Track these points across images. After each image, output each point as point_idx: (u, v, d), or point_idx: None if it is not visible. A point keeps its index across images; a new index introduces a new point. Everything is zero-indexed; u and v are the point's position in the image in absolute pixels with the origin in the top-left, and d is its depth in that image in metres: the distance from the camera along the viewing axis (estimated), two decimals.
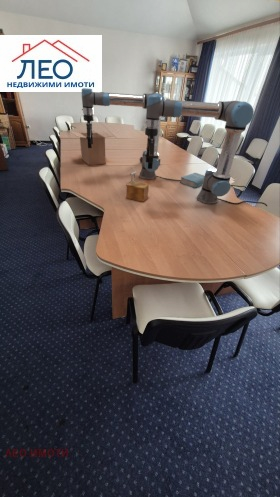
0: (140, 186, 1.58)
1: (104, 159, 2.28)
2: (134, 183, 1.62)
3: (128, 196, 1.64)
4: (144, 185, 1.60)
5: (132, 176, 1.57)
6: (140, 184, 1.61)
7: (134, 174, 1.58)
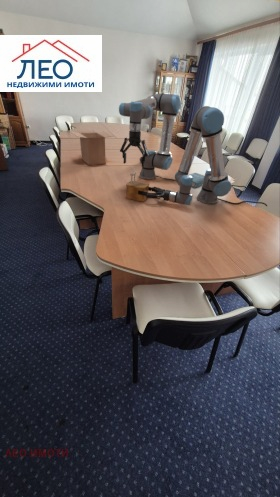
0: (140, 186, 1.58)
1: (104, 159, 2.28)
2: (134, 183, 1.62)
3: (128, 196, 1.64)
4: (144, 185, 1.60)
5: (131, 176, 1.57)
6: (140, 184, 1.61)
7: (134, 174, 1.58)
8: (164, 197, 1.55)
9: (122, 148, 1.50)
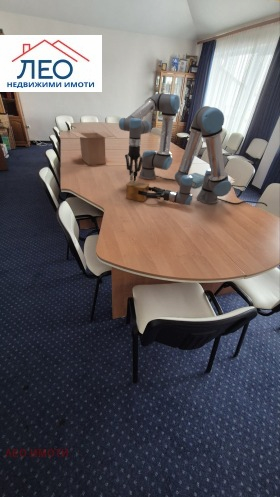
0: (140, 186, 1.58)
1: (104, 159, 2.28)
2: (134, 183, 1.62)
3: (128, 196, 1.64)
4: (144, 185, 1.60)
5: (132, 176, 1.57)
6: (140, 184, 1.61)
7: None
8: (164, 197, 1.55)
9: (127, 165, 1.55)
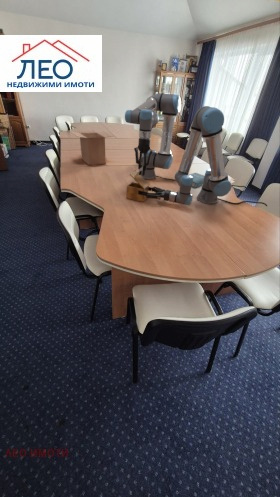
0: (142, 183, 1.57)
1: (104, 159, 2.28)
2: (137, 176, 1.58)
3: (128, 196, 1.64)
4: (145, 184, 1.59)
5: (140, 170, 1.52)
6: (142, 181, 1.59)
7: None
8: (164, 197, 1.55)
9: (137, 159, 1.50)
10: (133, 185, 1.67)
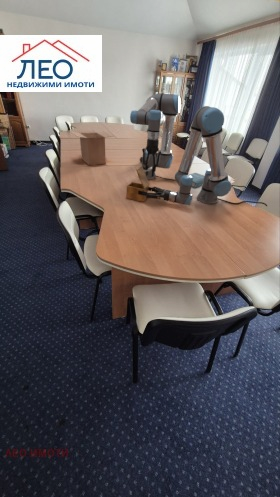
0: (143, 183, 1.56)
1: (104, 159, 2.28)
2: (142, 173, 1.56)
3: (128, 196, 1.64)
4: (146, 184, 1.59)
5: (147, 170, 1.50)
6: (144, 180, 1.58)
7: None
8: (164, 197, 1.55)
9: (144, 160, 1.48)
10: (133, 185, 1.67)
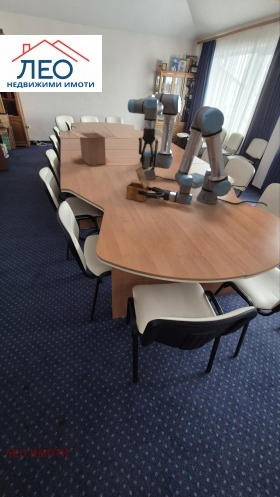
0: (143, 183, 1.56)
1: (104, 159, 2.28)
2: (141, 173, 1.56)
3: (128, 196, 1.64)
4: (146, 184, 1.59)
5: (146, 170, 1.51)
6: (144, 180, 1.58)
7: (149, 169, 1.52)
8: (164, 197, 1.55)
9: (140, 149, 1.46)
10: (133, 185, 1.67)
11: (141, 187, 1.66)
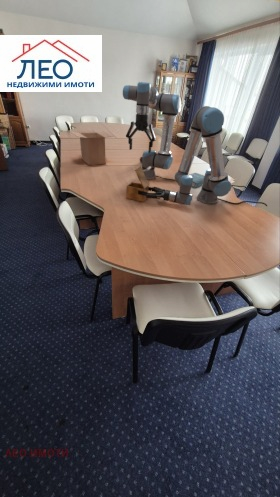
0: (143, 183, 1.56)
1: (104, 159, 2.28)
2: (141, 173, 1.56)
3: (128, 196, 1.64)
4: (146, 184, 1.59)
5: (146, 170, 1.51)
6: (144, 180, 1.58)
7: (148, 169, 1.52)
8: (164, 197, 1.55)
9: (128, 133, 1.43)
10: (133, 185, 1.67)
11: (141, 187, 1.66)
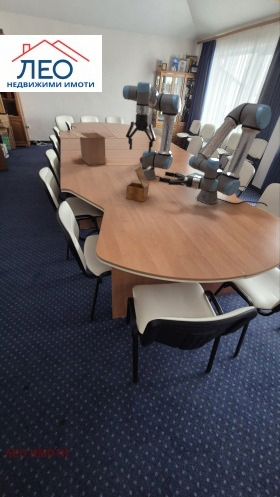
0: (143, 183, 1.56)
1: (104, 159, 2.28)
2: (141, 173, 1.56)
3: (128, 196, 1.64)
4: (146, 183, 1.59)
5: (146, 170, 1.51)
6: (144, 180, 1.58)
7: (148, 169, 1.52)
8: (187, 183, 1.44)
9: (128, 133, 1.43)
10: (133, 185, 1.67)
11: (141, 187, 1.66)
